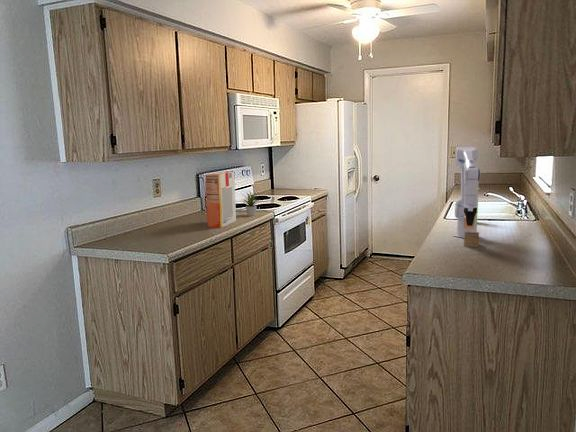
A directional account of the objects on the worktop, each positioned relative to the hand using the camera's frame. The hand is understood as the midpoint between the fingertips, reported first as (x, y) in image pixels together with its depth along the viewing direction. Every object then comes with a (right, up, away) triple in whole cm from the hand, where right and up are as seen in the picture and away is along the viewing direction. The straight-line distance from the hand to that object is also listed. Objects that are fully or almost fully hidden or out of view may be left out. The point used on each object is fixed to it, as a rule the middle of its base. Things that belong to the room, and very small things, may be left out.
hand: (469, 224), depth 219 cm
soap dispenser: (+22, 0, +55) cm, 59 cm away
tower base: (+1, -10, +1) cm, 10 cm away
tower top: (+1, -7, +1) cm, 7 cm away
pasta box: (-121, -1, +66) cm, 138 cm away
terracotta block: (0, -2, 0) cm, 2 cm away
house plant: (-105, +4, +93) cm, 140 cm away
